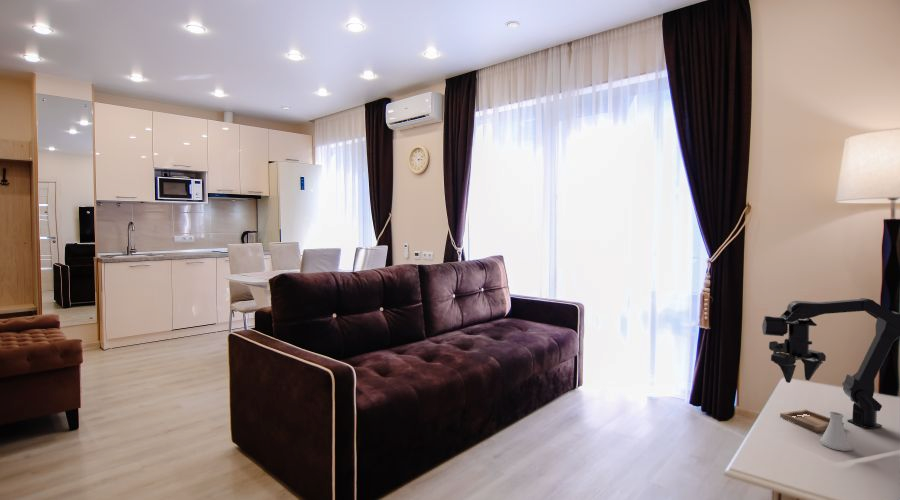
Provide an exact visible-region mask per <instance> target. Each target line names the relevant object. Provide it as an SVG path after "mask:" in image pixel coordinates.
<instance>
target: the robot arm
mask: <svg viewBox="0 0 900 500" xmlns="http://www.w3.org/2000/svg"><path fill="white" fill-rule="evenodd" d="M854 312H866V314H868V315H870V316H871V317H873V318H875V319H876V323H875V336H874V338H873V339H872V342H871V344H870V345H869V347H868V350H867V352H866V354H865V355H864V357H863V359H862V361H861V364H860V365H859V368H858V371H857V372H856V373H854V374H853V375H850V374H846V376H845V380H844V381H843V382H842V383H841V385H842V386H843V387H842V390H843V392H844V395H846V396H848V397H849V400H850V402H853V405H852V418H851V419H847V422H848V423H852V424H854V425H856V426H860V427H863V428H866V429H868V430H869V429H875V428H882V427H883V425H882V424H880V423H877V417H878V415H877V413H878V412H880V411H881V410H882V408H883V405H882V404H881V403H880V402H878V400H876V399H875V398H874V394H875V390H876V389H875V379H876V378H877V375H878V374H879V372H880V370H881V367H882V366H883V364H884V362H885V359H886V358H887V356H888V354H889V352H890V350H891V348H892V346H893V343H894V342H895V341H896V340H898V339H899V338H900V313H899V312H896V311H893V310H890V309H888V308H886V307H885V306H882V305H881V304H879V303H877V302H876V301H875V300H873V299H870V298H866V297H861V298H856V299H843V300H833V301H832V300H831V301H820V302H819V301H817V302H816V301H806V300H792V301H790V303H788V305H787V307H786V309H785V311H784V312H783V313H781V315H780V316H770V315H764V316H763V321H762V324H761V327H762V334H763V335H764V336H777V337H784V335H787V334H788V337H787V338H785V339H784V340H783V341H784V342H780V343H779V342H778V341H777V340H772V341H769V343H768V349H769V350H770V351H772V352H773V353H772V354H771V355H770V361H771V362H773V363H774V364H776V365H778V366H779V367H780V370H781V371H782V374H783V376H784V379H785V382H786V383H788V384H790V383H791V381H792V379H793V377H794V376H793V375H794V373H795V371H796V367H797V365H796V362H797V361H801V362H802V363H803V367H804V368H803V370H804V378H805V380H806V381H810V380H811V379H812V377H813V376H814V374H815V373H816V372H817V370H818V368H820V366H821V365H822V364H823V363H824V362H826V361H827V360H826V358H827V356H826V354H825V353H824V352H821V351H817V350H812V349H810V345H813V341H812V340H810V327H817V326H818V324H817V323H815V322H814V321H813V319H812V318H815V317H818V316H821V315H822V316H823V315H826V314H843V313H854Z"/></svg>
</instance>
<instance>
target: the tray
mask: <svg viewBox="0 0 900 500" xmlns="http://www.w3.org/2000/svg"><path fill="white" fill-rule="evenodd" d="M803 414H807V415H810V416H804V417H802V416H797V415H803ZM792 416H796V417H795V418H794V417H792ZM779 417H780V418H781V417H782V419H783V418H784V419H783V420H786V419H787V421H788V420H789V422H790V421H791V422H790V423H792V422H793V424H795V425H798V426H800V427H802V428H804V429H806V430H807V431H808V430H809V431H811V432H812V433H815V434H822V433H825V431H826V429H827V427H828V425H829V422H830V417H827V416H826V415H822V414H819V413H817V412H813V411H811V410H807V409H800V410H795V411H787V412H781V413H779ZM842 423H843V427H844V422H843V421H842Z"/></svg>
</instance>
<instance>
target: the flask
mask: <svg viewBox="0 0 900 500" xmlns="http://www.w3.org/2000/svg"><path fill="white" fill-rule="evenodd" d="M828 413H829V415H830V416H829V418H830V422H829V425H828V427H827V429H826V431H825V432H823V434H822V436H821V438H820V440H819V441H820V443H821V444H822V445H823V446H824V447H827V448H830V449H831V450H837V451H842V452H847V451H848V452H849V451H853V448H852V445H851V443H850V441H849V439H848V436H847V433H846V430H845V428H844V426H843V423H844V422H843V418H844V417H845V415H844V414H843V413H842V412H838V411H829V412H828ZM842 422H843V423H842Z"/></svg>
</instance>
